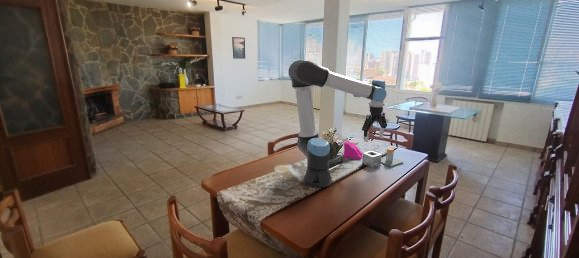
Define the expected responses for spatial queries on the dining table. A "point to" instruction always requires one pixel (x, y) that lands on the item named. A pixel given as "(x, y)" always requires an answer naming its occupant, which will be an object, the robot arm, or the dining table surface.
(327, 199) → the dining table surface
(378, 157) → the white hollow square block
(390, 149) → the keeper
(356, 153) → the magenta faceted rock
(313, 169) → the robot arm
